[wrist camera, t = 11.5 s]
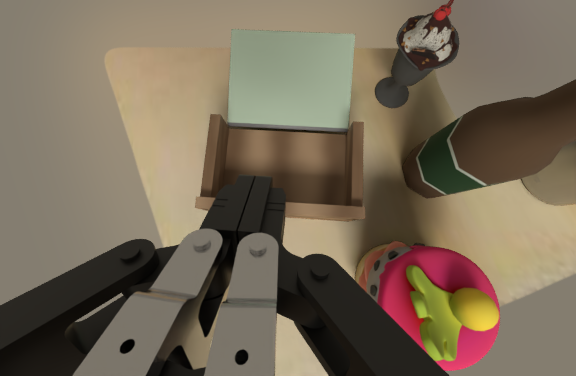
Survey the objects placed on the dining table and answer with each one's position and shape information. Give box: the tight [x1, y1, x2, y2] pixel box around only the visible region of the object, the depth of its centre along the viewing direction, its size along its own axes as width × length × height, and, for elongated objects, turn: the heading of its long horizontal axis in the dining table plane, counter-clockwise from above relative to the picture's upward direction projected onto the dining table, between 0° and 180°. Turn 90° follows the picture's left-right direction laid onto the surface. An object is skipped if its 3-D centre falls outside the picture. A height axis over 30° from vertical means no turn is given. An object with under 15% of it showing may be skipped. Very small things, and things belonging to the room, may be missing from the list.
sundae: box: [375, 0, 459, 108], centre depth 29 cm, size 7×7×15 cm
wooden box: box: [195, 114, 365, 221], centre depth 31 cm, size 18×11×8 cm, turn 86°
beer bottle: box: [402, 80, 576, 198], centre depth 22 cm, size 8×8×24 cm
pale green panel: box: [227, 29, 355, 132], centre depth 33 cm, size 16×2×12 cm
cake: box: [355, 241, 500, 371], centre depth 25 cm, size 10×11×15 cm
